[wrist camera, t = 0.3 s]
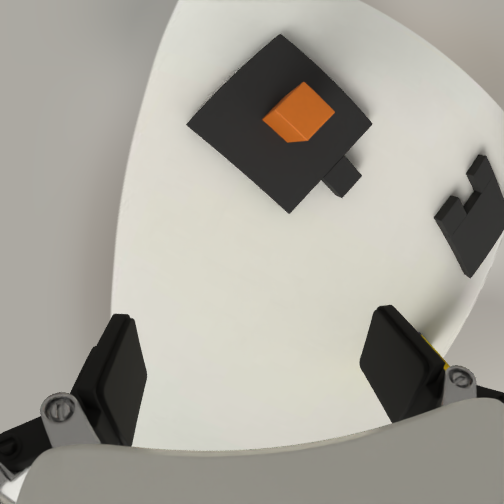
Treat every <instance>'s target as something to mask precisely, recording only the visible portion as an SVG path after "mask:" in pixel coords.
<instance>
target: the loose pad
mask: <svg viewBox="0 0 504 504" xmlns="http://www.w3.org/2000/svg"><path fill="white" fill-rule="evenodd" d="M371 125H372V123H371V121H370V120H369V119H368V118H367V117H366V116H365V114H364V113H363V112H362V111H361V110H360V109H359V108H358V107H357V105H356V104H355V103H354V102H353V101H352V100H351V99H350V98H349V97H348V96H347V95H346V94H345V93H344V92H343V91H342V89H341V88H340V87H339V86H338V85H337V84H336V83H335V82H334V81H333V80H332V79H331V78H330V77H329V76H328V75H327V74H326V73H324V72H323V71H322V70H321V69H320V68H319V67H318V66H317V65H316V64H315V63H314V62H313V61H312V60H311V59H309V58H308V57H307V56H306V55H305V54H304V53H303V52H302V51H300V50H299V49H298V48H297V47H296V46H295V45H293V44H292V43H291V42H290V41H289V40H287V39H286V38H285V37H284V36H282V35H281V34H279V35H278V36H277V37H276V38H274V39H273V40H272V41H271V42H270V43H269V44H267V45H266V46H265V47H264V48H263V49H262V50H260V51H259V52H258V53H257V54H256V55H255V56H254V57H253V58H251V59H250V60H249V61H248V62H247V63H246V64H245V65H244V66H243V67H242V68H241V69H240V70H238V71H237V72H236V73H235V74H234V75H233V76H232V77H231V78H230V79H229V80H228V81H227V82H226V83H225V84H224V85H223V86H222V87H221V88H220V89H219V90H218V91H217V92H216V93H215V94H214V95H213V96H212V97H211V98H210V99H209V100H208V101H207V102H206V104H205V105H204V106H203V107H202V108H201V109H200V110H199V111H198V112H197V113H196V114H195V115H194V117H193V118H192V119H191V120H190V121H189V122H188V123H187V126H188V127H189V128H191V129H192V130H193V131H194V132H195V133H197V134H198V135H199V136H200V137H202V138H203V139H204V140H205V141H206V142H208V143H209V144H210V145H211V146H212V147H214V148H215V149H216V150H217V151H218V152H219V153H221V154H222V155H223V156H224V157H225V158H227V159H228V160H229V161H230V162H231V163H232V164H234V165H235V166H236V167H237V168H238V169H239V170H241V171H242V172H243V173H244V174H245V175H246V176H247V177H249V178H250V179H251V180H252V181H253V182H254V183H255V184H256V185H258V186H259V187H260V188H261V189H262V190H263V191H264V192H265V193H267V194H268V195H269V196H270V197H271V198H272V199H273V200H274V201H275V202H277V203H278V204H279V205H280V206H281V207H282V208H283V209H284V210H285V211H286V212H287V213H289V214H290V213H291V212H292V211H293V210H294V208H295V207H296V206H297V205H298V204H299V203H300V202H301V201H302V200H303V199H304V198H305V197H306V195H307V194H308V193H309V192H310V191H311V190H312V189H313V188H314V187H315V186H316V185H317V184H318V183H319V181H320V180H322V181H323V182H324V183H325V184H326V185H327V186H328V187H329V188H330V190H331V191H332V192H333V193H334V194H335V195H336V196H339V197H341V198H342V197H343V196H344V195H345V194H346V193H347V192H348V191H349V190H350V189H351V188H352V186H353V185H354V184H355V183H356V182H357V181H358V180H359V179H360V178H361V176H362V175H361V174H360V173H359V172H358V171H357V169H356V168H355V167H354V166H353V165H352V164H351V163H350V161H349V160H348V159H347V158H346V157H345V156H344V154H345V153H346V152H347V151H348V150H349V149H350V148H351V147H352V146H353V145H354V144H355V143H356V142H357V140H358V139H359V138H360V137H361V136H362V135H363V134H364V133H365V132H366V131H367V130H368V129H369V127H370V126H371Z"/></svg>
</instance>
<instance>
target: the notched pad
mask: <svg viewBox="0 0 504 504" xmlns="http://www.w3.org/2000/svg"><path fill="white" fill-rule="evenodd" d="M466 175H467V177H468V179H469V181H470V183H471V185H472V187H473V189H474V192H473V194H472V195H471V197H470V198H469V200H468V201H467V203H466V204H465V205H464V207H463V205H462V203H461V201H460V200H459V198H458V197H455V196H450V198H449V199H448V200H447V202H446V203H445V204H444V206H443V207H442V208H441V209H440V211H439V212H438V213H437V215H436V216H435V217H434V219H435V220H436V222H437V224H438V226H439V227H440V229H441V231H442V232H443V234H444V236H445V238H446V240H447V241H448V243H449V245H450V247H451V249H452V251H453V253H454V255H455V256H456V258H457V260H458V262H459V264H460V266H461V268H462V270H463V272H464V274H465V275H466V276H468V277H469V278H471V277H472V276H473V274H474V273H475V272H476V270H477V269H478V268H479V266H480V265H481V264H482V262H483V261H484V259H485V258H486V256H487V255H488V253H489V252H490V251H491V249H492V248H493V246H494V244H495V243H496V241H497V240H498V238H499V237H500V235H501V233H502V232H503V230H504V198H503V196H502V193H501V190H500V188H499V185H498V182H497V180H496V177H495V175H494V172H493V170H492V168H491V165H490V163H489V161H488V158H487V156H483V155H478V157H477V158H476V160H475V161H474V163H473V164H472V166H471V167H470V169H469V170H468V172H467V173H466Z"/></svg>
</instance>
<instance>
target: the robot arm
mask: <svg viewBox="0 0 504 504" xmlns="http://www.w3.org/2000/svg"><path fill="white" fill-rule="evenodd" d="M444 366H445V361H444V360H443V359H442V358H441V357H440V356H439V355H438V354H437V352H436V351H435V350H434V349H433V348H432V347H431V346H430V345H429V344H428V342H427V341H426V340H425V339H424V338H423V337H422V336H421V335H420V334H419V333H418V332H417V331H416V329H415V328H414V327H413V326H412V325H411V324H410V323H409V322H408V321H407V320H406V319H405V318H404V317H403V316H402V315H401V314H400V313H399V312H398V311H397V310H396V308H395V307H394V306H392V305H386V306H379V307H378V308H377V310H375V311H374V313H373V316H372V320H371V324H370V327H369V331H368V334H367V338H366V341H365V345H364V348H363V351H362V355H361V358H360V368H361V370H362V371H363V373H364V375H365V376H366V378H367V380H368V382H369V383H370V385H371V387H372V388H373V390H374V392H375V394H376V395H377V397H378V399H379V401H380V402H381V404H382V406H383V408H384V410H385V411H386V413H387V415H388V417H389V418H390V420H391V422H392V424H389V425H385V426H382V427H379V428H375V429H371V430H367V431H364V432H360V433H355V434H351V435H347V436H342V437H338V438H333V439H328V440H322V441H317V442H311V443H304V444H298V445H290V446H282V447H273V448H263V449H250V450H230V451H187V450H165V449H151V448H140V447H131V446H132V442H133V437H134V433H135V428H136V423H137V418H138V414H139V409H140V405H141V401H142V396H143V392H144V388H145V384H146V380H147V371H146V367H145V363H144V359H143V355H142V351H141V347H140V343H139V338H138V334H137V329H136V324H135V320H134V319H133V318H130V316H129V315H128V314H114V315H113V316H112V318H111V320H110V321H109V323H108V325H107V327H106V329H105V331H104V333H103V335H102V336H101V338H100V340H99V342H98V344H97V346H95V347H93V348H92V350H91V352H90V354H89V356H88V358H87V359H86V361H85V364H84V366H83V367H82V370H81V372H80V373H79V376H78V378H77V380H76V382H75V384H74V386H73V388H72V390H71V392H70V394H69V393H61V392H59V393H55V394H52V395H50V396H49V397H47V398H46V399H45V400H44V402H43V403H42V405H41V408H40V414H41V416H40V417H38V418H36V419H33V420H31V421H29V422H26V423H24V424H22V425H19V426H17V427H15V428H12V429H10V430H8V431H5V432H3V433H2V434H0V504H504V393H503V392H499V391H496V390H492V389H488V388H484V387H481V386H478V385H476V379H475V376H474V374H473V373H472V372H471V371H470V370H469V369H467V368H465V367H462V366H457V365H455V366H451V367H448V369H447V370H446V371H445V370H444Z"/></svg>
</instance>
